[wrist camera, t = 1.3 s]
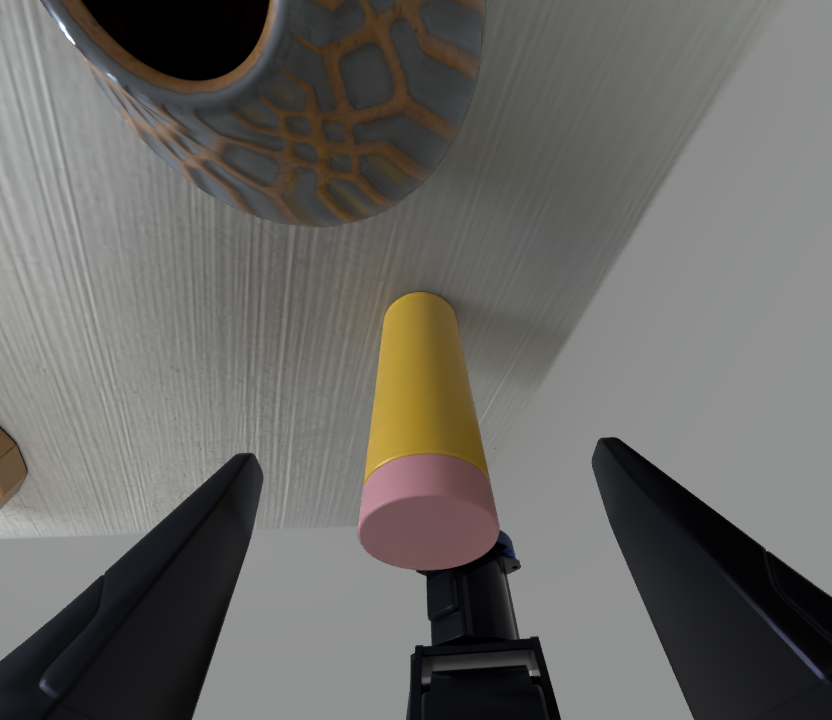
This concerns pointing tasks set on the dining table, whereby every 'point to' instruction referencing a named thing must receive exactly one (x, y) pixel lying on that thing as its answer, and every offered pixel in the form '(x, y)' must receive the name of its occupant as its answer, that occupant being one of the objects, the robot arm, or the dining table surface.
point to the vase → (288, 94)
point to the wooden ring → (10, 469)
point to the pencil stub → (425, 446)
